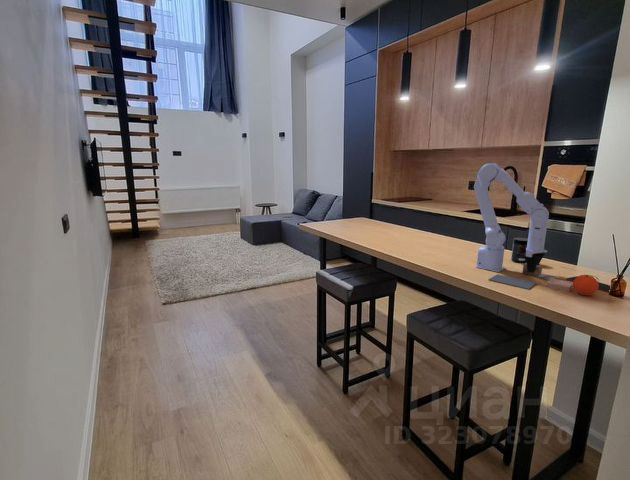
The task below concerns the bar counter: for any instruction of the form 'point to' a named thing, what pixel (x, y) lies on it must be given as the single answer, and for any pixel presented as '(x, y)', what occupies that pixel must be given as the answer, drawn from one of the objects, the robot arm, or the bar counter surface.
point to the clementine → (586, 284)
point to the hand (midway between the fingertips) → (532, 271)
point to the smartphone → (601, 286)
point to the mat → (513, 281)
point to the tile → (559, 284)
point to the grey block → (537, 272)
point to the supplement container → (519, 250)
